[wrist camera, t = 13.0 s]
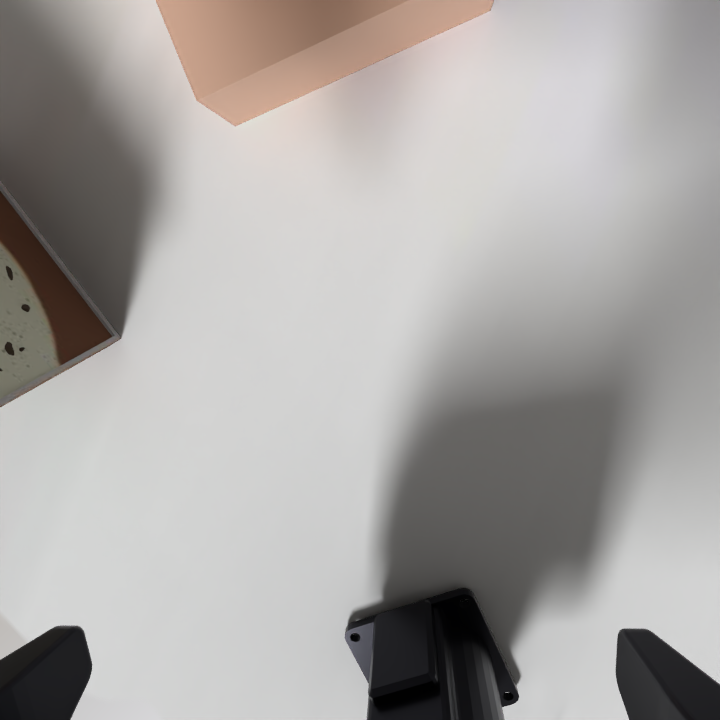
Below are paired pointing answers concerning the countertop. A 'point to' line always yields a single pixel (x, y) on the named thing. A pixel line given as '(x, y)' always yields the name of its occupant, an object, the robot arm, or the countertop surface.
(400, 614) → the robot arm
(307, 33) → the terracotta block
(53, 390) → the countertop surface
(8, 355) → the food container
